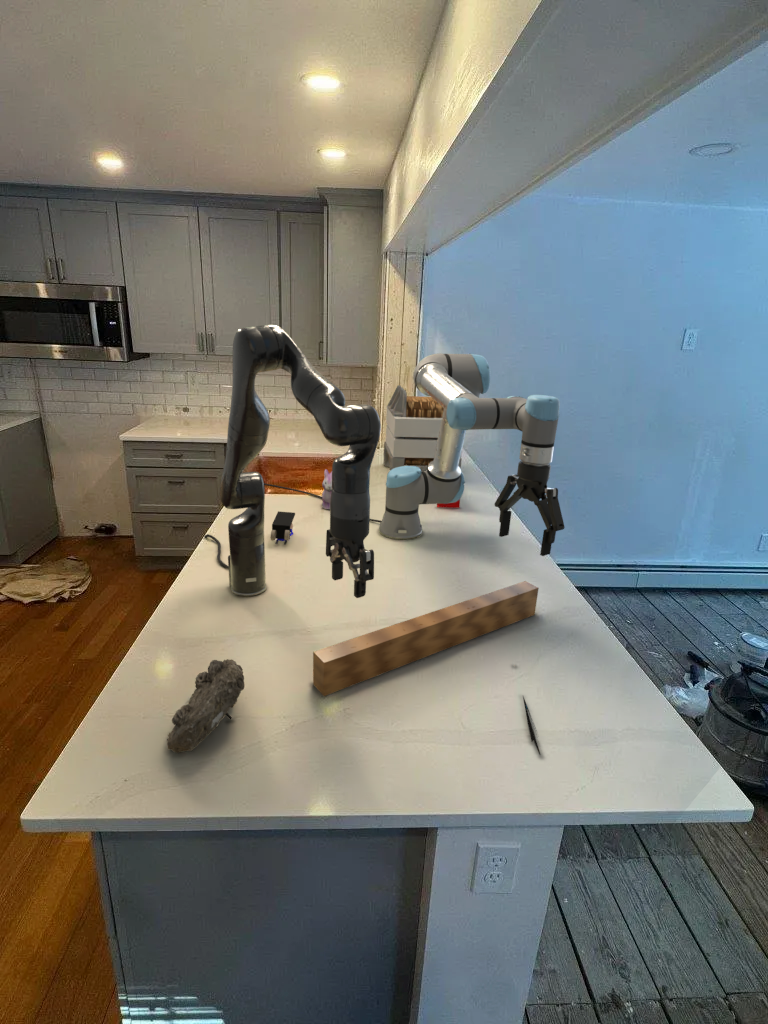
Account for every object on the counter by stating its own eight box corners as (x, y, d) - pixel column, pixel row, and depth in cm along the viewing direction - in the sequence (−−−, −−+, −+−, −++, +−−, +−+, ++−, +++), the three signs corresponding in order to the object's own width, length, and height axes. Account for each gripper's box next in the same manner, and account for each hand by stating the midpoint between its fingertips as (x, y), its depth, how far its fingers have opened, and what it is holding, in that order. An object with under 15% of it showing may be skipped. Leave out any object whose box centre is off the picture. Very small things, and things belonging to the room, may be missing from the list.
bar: (521, 607, 154) (525, 580, 151) (534, 614, 150) (538, 587, 147) (313, 684, 119) (313, 651, 116) (323, 696, 115) (324, 662, 112)
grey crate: (382, 463, 289) (386, 382, 275) (445, 464, 293) (451, 384, 279) (390, 482, 257) (394, 392, 243) (460, 483, 261) (468, 394, 247)
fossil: (192, 660, 117) (244, 628, 112) (224, 691, 120) (276, 661, 115) (142, 746, 98) (202, 712, 93) (182, 779, 101) (242, 748, 96)
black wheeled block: (290, 551, 185) (296, 529, 198) (289, 530, 182) (295, 510, 195) (270, 550, 185) (277, 528, 198) (268, 530, 181) (276, 509, 195)
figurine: (325, 511, 218) (326, 473, 213) (316, 503, 226) (316, 467, 221) (348, 508, 222) (349, 471, 217) (337, 500, 231) (338, 465, 225)
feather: (514, 670, 128) (520, 664, 128) (540, 759, 101) (547, 752, 101) (508, 666, 128) (514, 660, 127) (532, 755, 101) (539, 747, 101)
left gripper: (314, 503, 111) (314, 577, 116) (352, 526, 100) (350, 607, 105) (347, 497, 115) (345, 570, 120) (387, 519, 104) (383, 598, 110)
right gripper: (486, 452, 142) (477, 530, 149) (567, 477, 123) (553, 566, 130) (507, 449, 146) (498, 525, 153) (589, 473, 127) (574, 559, 134)
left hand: (348, 587), depth 113 cm, fingers open, 8 cm apart
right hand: (523, 544), depth 141 cm, fingers open, 13 cm apart
